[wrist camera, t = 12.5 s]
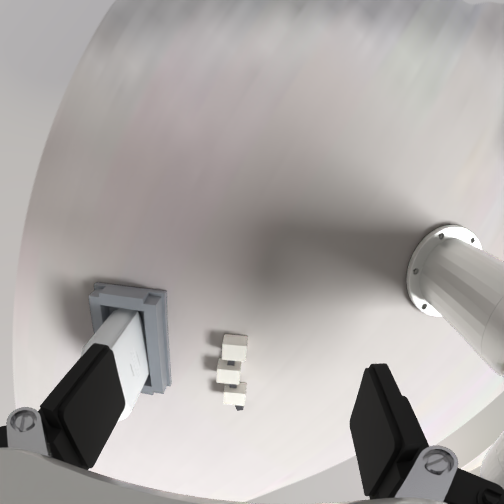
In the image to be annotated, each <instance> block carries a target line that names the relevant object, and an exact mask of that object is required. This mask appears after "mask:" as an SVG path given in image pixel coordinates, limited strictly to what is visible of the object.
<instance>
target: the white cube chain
mask: <svg viewBox="0 0 504 504" xmlns="http://www.w3.org/2000/svg"><path fill="white" fill-rule="evenodd" d="M247 340H248V336H242V335H230V334H224V338H223V343H222V359H221V358H219V361H218V366H217V383H225V387H224V399H223V404H228V405H235V407H236V409H237V411H238V410H243V407H244V406H245V399H246V386H247V383H241V382H240V371H241V361H243V362H246V352H247Z"/></svg>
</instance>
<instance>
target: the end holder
mask: <svg viewBox="0 0 504 504" xmlns="http://www.w3.org/2000/svg"><path fill="white" fill-rule="evenodd" d="M89 303H90V310H91V317H92V323H93V329H94V334H95V333H96V332H97V330H98V329H99V328H100V327H101V326H102V324H103V323H104V322H105V321H106V320H107V318H108V317H109V316H110V315H111V314H112V312H113V311H115V310H118V309H119V308H125V309H131V310H136V311H138V312H139V314H140V316H141V319H142V323H143V327H144V331H145V335H146V343H147V352H148V361H149V369H150V373H149V375H148V377H147V379H146V381H145V384H144V386H143V388H142V390H141V392H140V393H145V394H150V395H153V394H154V392H155V393H161V394H164V391H165V389H166V386H171V383H172V381H171V369H170V356H169V340H168V322H167V297H166V291H163V290H154V289H145V288H137V287H129V286H121V285H113V284H106V283H98V282H96V283H95V284H94V291H93V292H92V293H91V294H90V295H89Z"/></svg>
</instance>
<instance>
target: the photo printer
mask: <svg viewBox="0 0 504 504" xmlns="http://www.w3.org/2000/svg"><path fill="white" fill-rule="evenodd" d="M94 343H98V344H104V345H108V346H109V348H110V349H111V350H112V351H113V353H114V357H115V361H116V366H117V370H118V374H119V378H120V382H121V386H122V390H123V394H124V398H125V408H124V410H123V412H122V414H121V416H120V418H119V419H118V421H121V420H123V419H125V418H127V417H128V416H129V415H130V413H131V412H132V410H133V407H134V405H135V403H136V401H137V399H138V397H139V394H140V392H141V390H142V388H143V386H144V384H145V381H146V379H147V377H148V375H149V373H150V369H149V361H148V352H147V343H146V335H145V331H144V327H143V323H142V319H141V316H140V314H139V312H138V311H136V310H131V309H125V308H119V309H118V310H115V311H113V312H112V314H111V315H110V316H109V317H108V318H107V320H106V321H105V322H104V323H103V324H102V326H101V327H100V328H99V329H98V330H97V332H96V333H95V334H94V335H93V336H92V338H91V339H90V340H89V341H88V343H87V344H86V345H85V346H84V347H83V349H82V351H81V357H82V356H83V354H84V353H85V352H86V351H87V350H88V349H89V348H90V346H91V345H92V344H94Z"/></svg>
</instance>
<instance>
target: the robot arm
mask: <svg viewBox="0 0 504 504" xmlns="http://www.w3.org/2000/svg"><path fill="white" fill-rule="evenodd" d="M406 281H407V290H408V294H409V297H410V298H411V300H412V302H413V303H414V305H415V306H416V307H417V308H418V309H419V310H420V311H421V312H423V313H425V314H427V315H430V316H442V317H443V318H444V319H445V320H446V321H447V322H448V323H449V324H450V325H451V326H452V327H453V328H454V329H455V330H456V331H457V332H458V333H459V334H460V335H461V336H462V338H463V339H464V340H465V341H466V342H467V343H468V344H469V345H470V346H471V347H472V348H473V349H474V351H475V352H476V353H477V354H478V355H479V356H480V357H481V358H482V359H483V360H484V361H485V362H486V364H487V365H488V366H489V367H490V368H491V369H492V370H493V371H494V372H495V373H497V374H498V375H500V376H502V377H504V261H502V260H500V259H499V258H497V257H495V256H493V255H491V254H489V253H487V252H485V251H484V250H482V247H481V244H480V242H479V240H478V239H477V237H476V236H475V235H474V234H473V233H472V232H471V231H469V230H468V229H466V228H464V227H461V226H458V225H445V226H442V227H439V228H437V229H435V230H434V231H432V232H430V233H429V234H428V235H427V236H426V237H425V238H424V239H423V240H422V241H421V242H420V243H419V245H418V246H417V248H416V249H415V251H414V253H413V255H412V257H411V260H410V262H409V266H408V270H407V279H406ZM40 407H41V408H40V410H39V411H37V410H35V409H33V408H29V407H22V408H19V409H16V410H15V411H13V412H12V413H11V414H10V415H9V416H8V419H7V423H6V424H7V425H6V426H2V427H0V504H265V503H247V502H235V501H224V500H216V499H208V498H201V497H194V496H188V495H182V494H176V493H171V492H166V491H161V490H157V489H152V488H148V487H143V486H139V485H135V484H132V483H128V482H124V481H121V480H117V479H114V478H110V477H107V476H104V475H101V474H98V473H94V472H91V471H88V469H89V468H92V467H93V466H94V464H95V463H96V461H97V459H98V457H99V455H100V453H101V451H102V449H103V447H104V446H105V444H106V442H107V440H108V438H109V436H110V434H111V432H112V431H113V429H114V427H115V425H116V423H117V421H118V419H119V418H120V416H121V414H122V412H123V410H124V408H125V398H124V394H123V390H122V386H121V382H120V378H119V374H118V370H117V366H116V361H115V357H114V353H113V351H112V350H111V349H110V348H109V346H108V345H104V344H98V343H94V344H92V345H91V346H90V348H89V349H88V350H87V351H86V352H85V353H84V354H83V356H82V357H81V358H80V359H79V360H78V361H77V363H76V364H75V365H74V366H73V367H72V368H71V370H70V371H69V372H68V373H67V374H66V375H65V377H64V378H63V379H62V380H61V381H60V382H59V384H58V385H57V386H56V387H55V388H54V390H53V391H52V392H51V393H50V394H49V396H48V397H47V398H46V399H45V401H44V402H43V403H42V404H41V405H40ZM350 430H351V434H352V438H353V443H354V447H355V452H356V456H357V460H358V465H359V470H360V475H361V479H362V484H363V489H364V494H365V496H369V497H370V500H361V501H352V502H337V503H317V504H504V430H503V432H502V433H501V434H500V436H499V437H498V438H497V440H496V441H495V442H494V444H493V445H492V446H491V448H490V449H489V451H488V452H487V454H486V456H485V458H484V460H483V462H482V465H481V470H480V477H478V476H476V475H473V474H471V473H469V472H466V471H464V470H461V469H459V468H457V467H458V459H457V457H456V455H455V453H453V452H452V451H451V450H450V449H448V448H446V447H443V446H430V447H429V445H428V443H427V440H426V438H425V436H424V433H423V431H422V429H421V427H420V425H419V422H418V420H417V418H416V416H415V414H414V411H413V409H412V407H411V405H410V403H409V401H408V399H407V398H406V397H405V396H402V395H401V393H400V390H399V388H398V386H397V384H396V382H395V380H394V378H393V376H392V374H391V371H390V369H389V367H388V365H387V364H371V365H370V367H369V368H366V369H365V371H364V374H363V378H362V381H361V385H360V388H359V392H358V395H357V399H356V402H355V405H354V408H353V412H352V415H351V418H350Z"/></svg>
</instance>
